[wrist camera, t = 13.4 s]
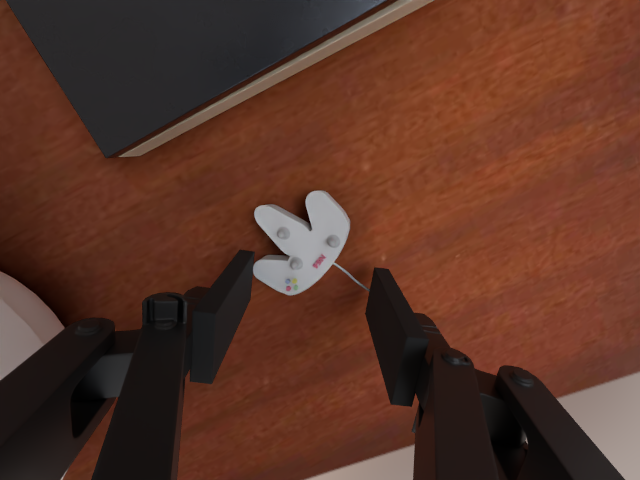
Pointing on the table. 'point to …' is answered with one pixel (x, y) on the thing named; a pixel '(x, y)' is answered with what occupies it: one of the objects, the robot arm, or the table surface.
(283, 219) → the game controller
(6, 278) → the bowl
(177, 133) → the laptop
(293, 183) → the table surface
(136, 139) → the laptop screen
